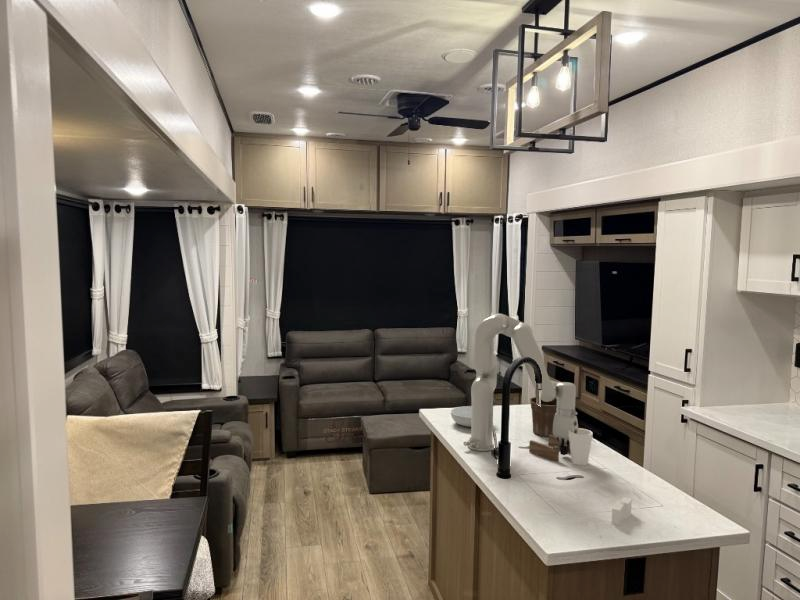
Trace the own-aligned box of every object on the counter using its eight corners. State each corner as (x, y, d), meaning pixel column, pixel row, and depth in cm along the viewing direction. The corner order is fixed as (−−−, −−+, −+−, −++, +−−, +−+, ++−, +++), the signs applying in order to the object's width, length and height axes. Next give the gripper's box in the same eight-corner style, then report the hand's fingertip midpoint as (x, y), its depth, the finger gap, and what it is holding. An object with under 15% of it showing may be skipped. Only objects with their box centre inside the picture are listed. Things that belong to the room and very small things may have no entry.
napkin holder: (615, 531, 165) (616, 513, 164) (592, 514, 176) (593, 497, 175) (655, 524, 169) (656, 507, 169) (630, 509, 180) (631, 492, 180)
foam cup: (564, 458, 226) (565, 427, 225) (586, 458, 226) (587, 428, 225) (571, 466, 217) (572, 435, 216) (594, 466, 217) (595, 435, 216)
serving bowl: (445, 420, 281) (445, 407, 280) (482, 417, 286) (482, 405, 285) (458, 432, 261) (458, 418, 260) (498, 429, 266) (498, 415, 265)
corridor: (556, 461, 222) (556, 447, 222) (529, 452, 233) (529, 439, 233) (577, 453, 231) (578, 440, 231) (550, 445, 242) (550, 432, 242)
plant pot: (567, 439, 252) (568, 405, 251) (533, 438, 252) (534, 404, 251) (558, 428, 268) (559, 397, 267) (525, 428, 268) (526, 396, 267)
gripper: (586, 414, 223) (584, 457, 224) (555, 406, 235) (554, 447, 236) (575, 417, 219) (574, 461, 220) (545, 409, 230) (544, 451, 231)
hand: (564, 454), depth 228 cm, fingers closed
